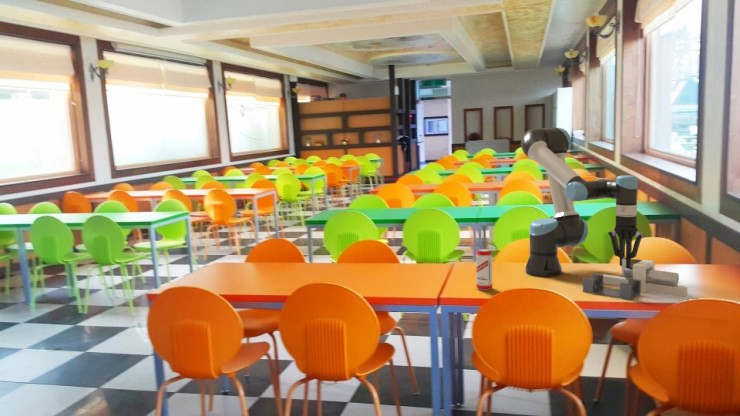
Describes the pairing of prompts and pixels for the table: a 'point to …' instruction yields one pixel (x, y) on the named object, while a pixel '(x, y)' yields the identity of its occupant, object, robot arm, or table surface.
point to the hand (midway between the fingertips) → (625, 274)
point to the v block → (625, 291)
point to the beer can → (484, 269)
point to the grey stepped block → (640, 274)
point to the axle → (655, 276)
